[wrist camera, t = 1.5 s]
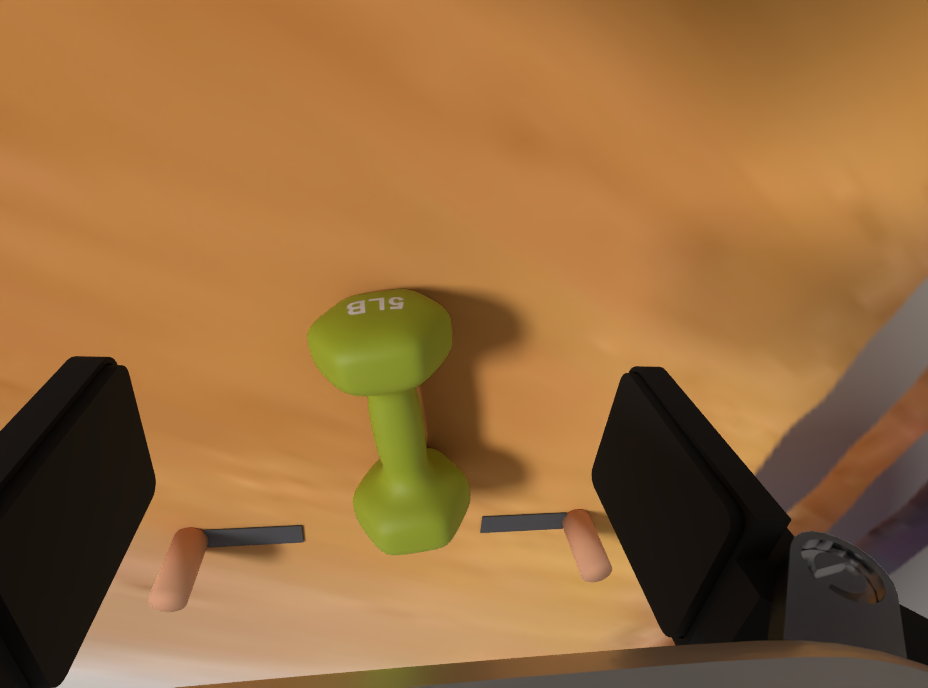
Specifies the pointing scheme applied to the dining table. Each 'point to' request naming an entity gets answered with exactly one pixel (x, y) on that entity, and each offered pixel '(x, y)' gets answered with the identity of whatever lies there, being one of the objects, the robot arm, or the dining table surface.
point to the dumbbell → (395, 413)
